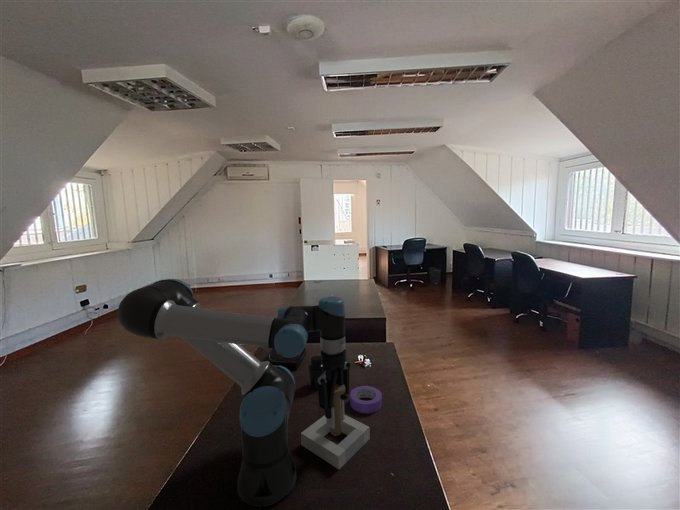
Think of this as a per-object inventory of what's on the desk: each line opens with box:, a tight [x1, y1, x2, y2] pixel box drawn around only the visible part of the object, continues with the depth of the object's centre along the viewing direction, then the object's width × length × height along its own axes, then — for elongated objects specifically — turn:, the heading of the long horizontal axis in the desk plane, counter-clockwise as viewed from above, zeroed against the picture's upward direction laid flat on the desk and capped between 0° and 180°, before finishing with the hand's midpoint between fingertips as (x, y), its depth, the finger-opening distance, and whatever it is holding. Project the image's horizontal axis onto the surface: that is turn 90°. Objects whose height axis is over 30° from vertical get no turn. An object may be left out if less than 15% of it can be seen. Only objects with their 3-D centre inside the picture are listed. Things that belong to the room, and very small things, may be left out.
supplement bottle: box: [308, 355, 323, 390], centre depth 126 cm, size 7×7×12 cm
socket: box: [300, 414, 371, 470], centre depth 94 cm, size 15×15×4 cm
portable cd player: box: [261, 347, 307, 372], centre depth 149 cm, size 16×17×4 cm
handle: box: [330, 384, 346, 437], centre depth 93 cm, size 5×6×15 cm
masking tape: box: [349, 385, 383, 414], centre depth 114 cm, size 12×12×4 cm
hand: (335, 422), depth 94 cm, fingers closed on handle, 4 cm apart
